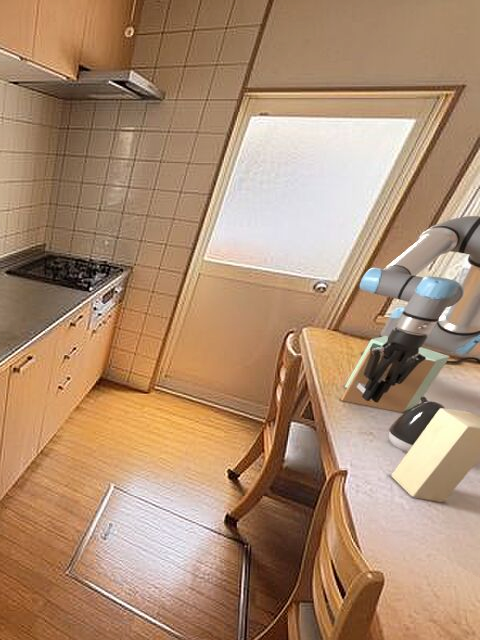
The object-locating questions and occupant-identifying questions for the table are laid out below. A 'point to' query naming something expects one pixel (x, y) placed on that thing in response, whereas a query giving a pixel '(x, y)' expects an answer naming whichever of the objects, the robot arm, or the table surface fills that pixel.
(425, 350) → the box
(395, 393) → the cooler door
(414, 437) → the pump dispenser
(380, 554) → the table surface
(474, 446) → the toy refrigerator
